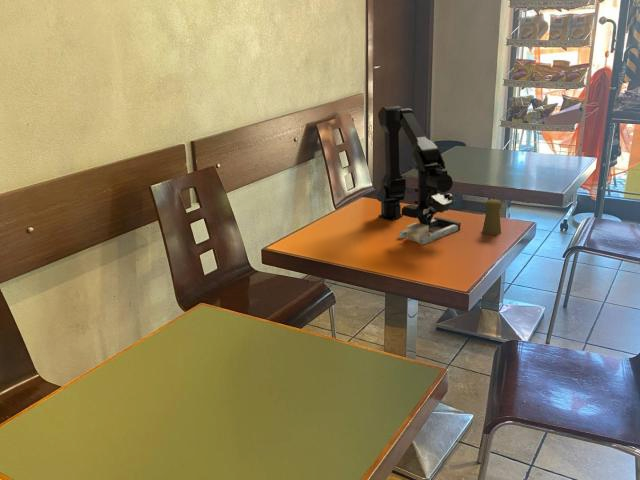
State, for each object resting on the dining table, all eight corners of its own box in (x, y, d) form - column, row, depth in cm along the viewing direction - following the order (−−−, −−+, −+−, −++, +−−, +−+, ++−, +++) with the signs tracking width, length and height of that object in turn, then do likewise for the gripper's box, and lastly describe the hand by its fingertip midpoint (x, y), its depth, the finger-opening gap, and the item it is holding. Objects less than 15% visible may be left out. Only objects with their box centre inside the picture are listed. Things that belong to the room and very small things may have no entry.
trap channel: (399, 237, 205) (399, 230, 204) (436, 223, 217) (436, 216, 217) (423, 244, 198) (423, 237, 197) (460, 229, 210) (460, 222, 210)
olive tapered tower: (501, 235, 204) (503, 203, 200) (482, 234, 205) (484, 202, 201) (500, 229, 209) (502, 197, 206) (481, 228, 211) (483, 197, 207)
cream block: (406, 239, 203) (406, 226, 202) (416, 235, 207) (416, 222, 205) (418, 242, 200) (419, 229, 198) (428, 238, 203) (428, 225, 202)
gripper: (428, 196, 189) (427, 244, 194) (464, 183, 200) (462, 229, 206) (400, 189, 196) (400, 236, 202) (436, 178, 208) (435, 222, 214)
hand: (425, 231), depth 205 cm, fingers closed
